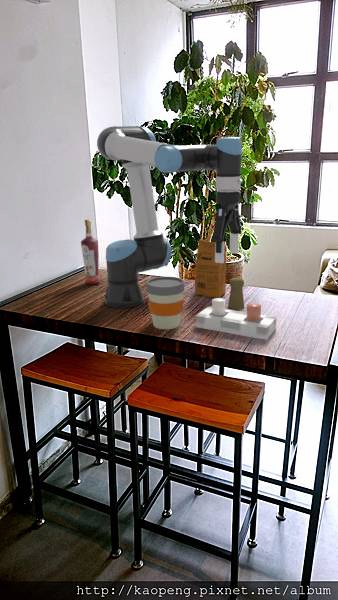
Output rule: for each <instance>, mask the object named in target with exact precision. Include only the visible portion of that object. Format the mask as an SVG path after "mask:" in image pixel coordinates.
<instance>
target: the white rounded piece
mask: <svg viewBox="0 0 338 600" xmlns="http://www.w3.org/2000/svg"><path fill="white" fill-rule="evenodd" d="M226 301H227V300H226V299H225V298H222V297H219V298H217V297H214V298H212V299H211V307H212V314H214V315H224V314H225V309H226Z"/></svg>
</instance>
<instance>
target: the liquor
mask: <svg viewBox="0 0 338 600" xmlns="http://www.w3.org/2000/svg"><path fill="white" fill-rule="evenodd" d="M84 226H85V237H84V238H83V239H82V240H81V241H80V247H81V253H82V260H83V267H84V274H85V281H84V282H85V283H86V284H87V285H91V286H92V285H97V284H99V282H100V281H101V278H100V266H99V265H100V263H99V261H100V260H99V259H100V258H99V239H96V238H95V237H94V236H93V231H92V220H91V219H88V218H87V219H84Z"/></svg>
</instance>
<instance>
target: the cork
mask: <svg viewBox="0 0 338 600" xmlns="http://www.w3.org/2000/svg"><path fill="white" fill-rule="evenodd" d="M244 285H245V281H244V279H243V278H242V277H232V278H230V280H229V286H230V291H229V298H228V303H227V308H228V309H229V310H234V311H239V310H243V309H244V308H245V301H244V291H243V290H244V289H243V287H244Z"/></svg>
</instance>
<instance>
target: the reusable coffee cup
mask: <svg viewBox="0 0 338 600" xmlns="http://www.w3.org/2000/svg"><path fill="white" fill-rule="evenodd" d="M185 288H186V287H185V282H184V280H183V278H179V277H176V276H158V277H157V276H156V277H153V278H151V279H148V280H147V282H146V292H147V295H148V296H147V302H148V303H147V305H148V310H149V313H150V315H151V318H152V323H153V327H154V328H156V329H158V330H172V329H176V328H178V327H179V326H180V324H181V315H182V312H183V309H184V308H183V307H184V301H185V300H184V299H185V297H184V292H185V290H186V289H185Z"/></svg>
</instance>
